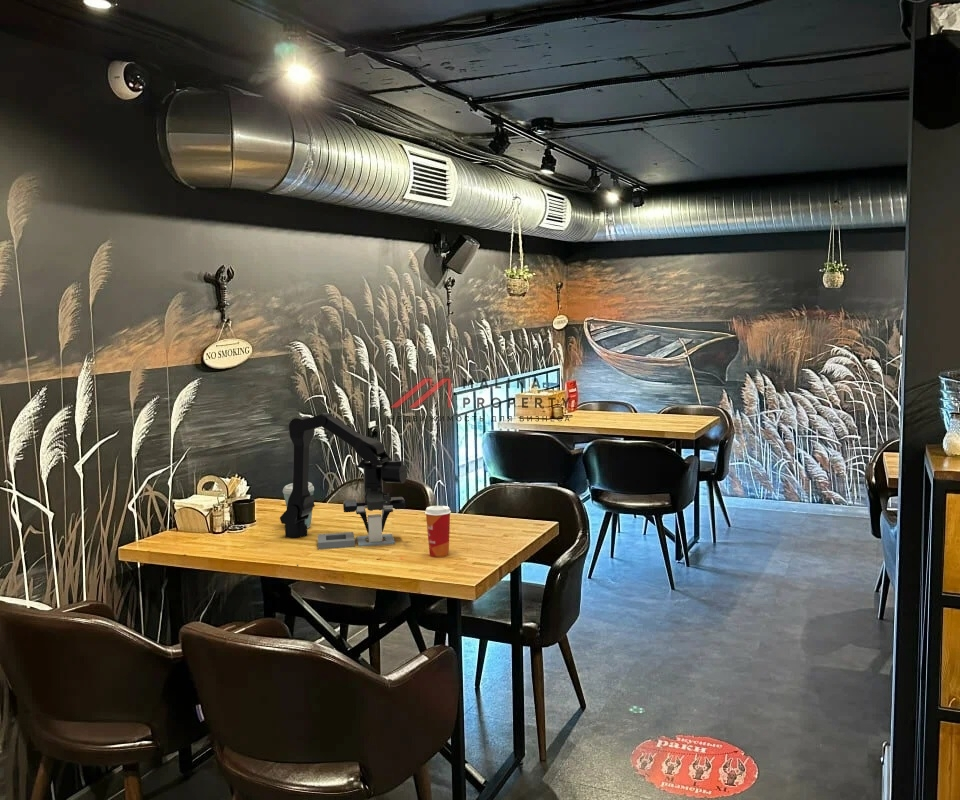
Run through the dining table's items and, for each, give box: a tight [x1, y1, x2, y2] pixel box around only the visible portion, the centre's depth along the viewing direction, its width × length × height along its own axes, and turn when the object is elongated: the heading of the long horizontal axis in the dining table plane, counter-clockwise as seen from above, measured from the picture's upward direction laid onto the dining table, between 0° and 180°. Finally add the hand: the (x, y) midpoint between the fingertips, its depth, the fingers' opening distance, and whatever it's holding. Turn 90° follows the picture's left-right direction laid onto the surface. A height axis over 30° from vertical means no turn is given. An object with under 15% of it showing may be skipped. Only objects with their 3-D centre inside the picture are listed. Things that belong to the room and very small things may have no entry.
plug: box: [367, 513, 383, 542], centre depth 259 cm, size 4×4×8 cm
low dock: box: [356, 533, 396, 548], centre depth 260 cm, size 11×11×2 cm
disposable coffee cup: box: [282, 481, 315, 529], centre depth 286 cm, size 11×11×15 cm
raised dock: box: [317, 531, 356, 551], centre depth 258 cm, size 11×11×4 cm
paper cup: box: [424, 505, 452, 558], centre depth 247 cm, size 8×8×14 cm
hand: (375, 531), depth 260 cm, fingers closed on plug, 4 cm apart
